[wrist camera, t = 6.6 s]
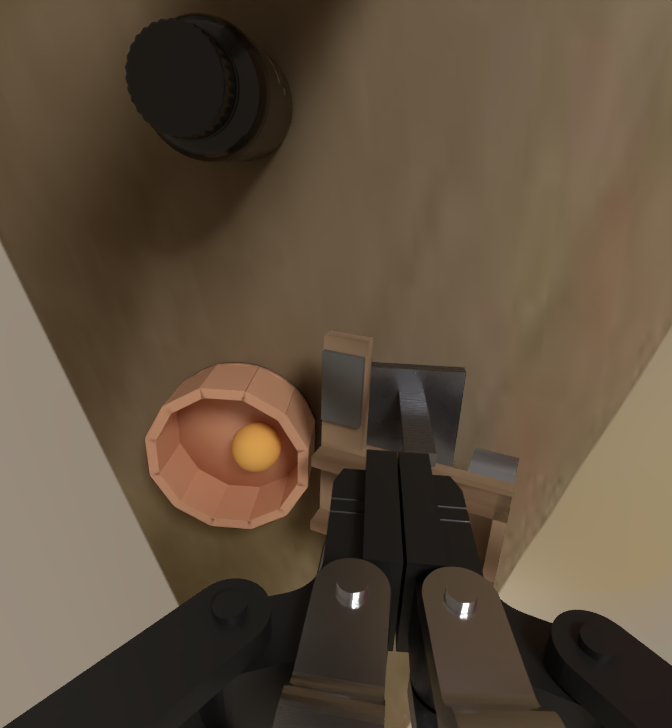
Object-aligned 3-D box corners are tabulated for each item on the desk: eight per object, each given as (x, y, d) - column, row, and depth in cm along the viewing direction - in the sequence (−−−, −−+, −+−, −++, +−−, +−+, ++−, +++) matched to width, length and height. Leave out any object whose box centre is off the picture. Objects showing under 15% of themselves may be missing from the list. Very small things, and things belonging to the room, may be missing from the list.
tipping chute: (353, 314, 36) (313, 342, 31) (542, 345, 32) (535, 384, 26) (344, 483, 42) (310, 533, 37) (503, 531, 38) (491, 595, 32)
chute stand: (362, 361, 40) (359, 420, 31) (464, 367, 39) (489, 429, 31) (354, 503, 45) (349, 587, 37) (443, 510, 45) (459, 597, 36)
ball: (291, 426, 40) (259, 408, 42) (251, 444, 37) (220, 425, 40) (291, 467, 42) (261, 448, 44) (252, 488, 39) (223, 466, 41)
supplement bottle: (305, 64, 32) (268, 18, 21) (280, 173, 35) (236, 183, 24) (202, 31, 32) (110, -33, 21) (185, 143, 34) (95, 139, 23)
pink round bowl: (164, 357, 41) (137, 384, 36) (316, 366, 40) (309, 395, 36) (178, 483, 46) (156, 521, 41) (314, 494, 45) (307, 533, 41)
